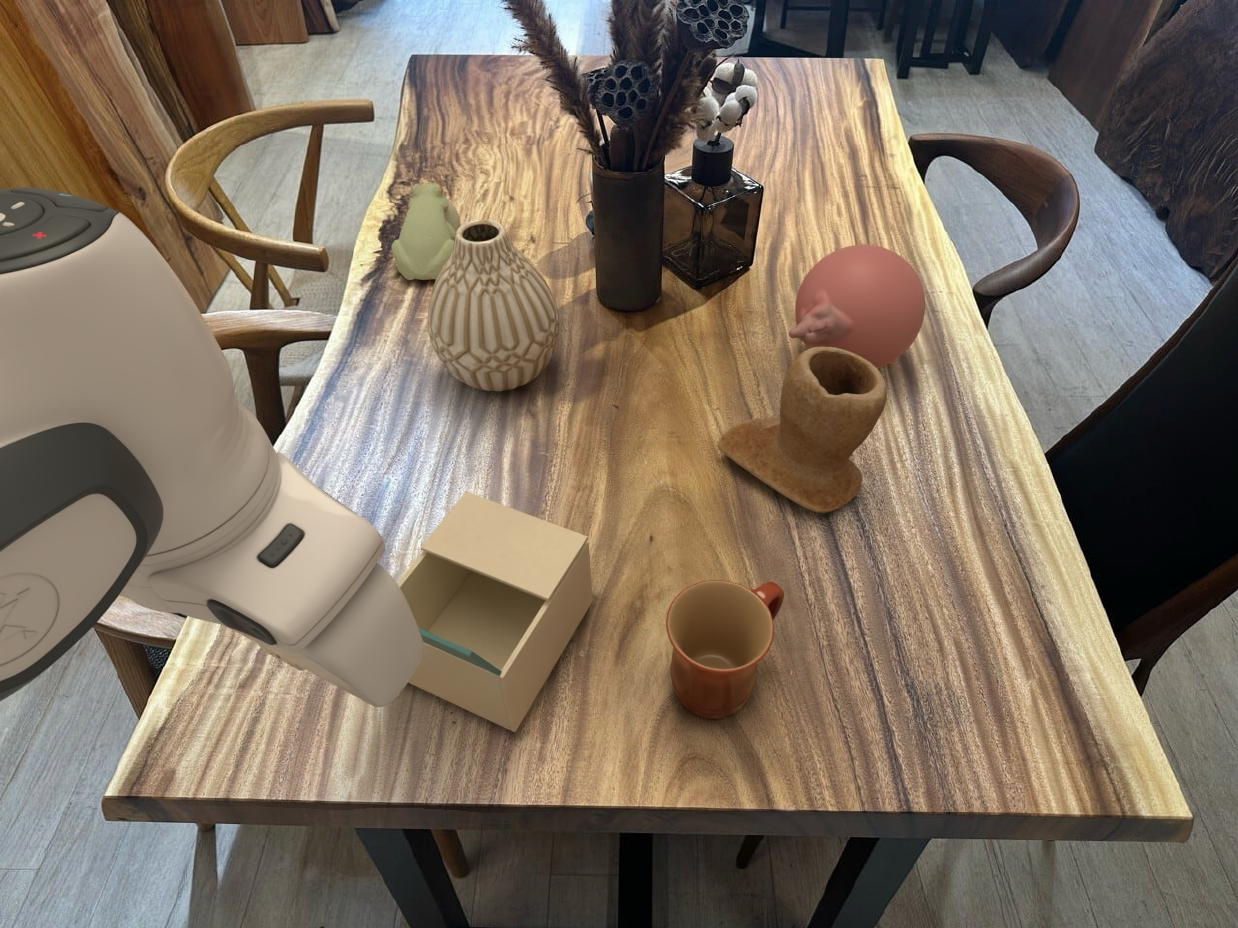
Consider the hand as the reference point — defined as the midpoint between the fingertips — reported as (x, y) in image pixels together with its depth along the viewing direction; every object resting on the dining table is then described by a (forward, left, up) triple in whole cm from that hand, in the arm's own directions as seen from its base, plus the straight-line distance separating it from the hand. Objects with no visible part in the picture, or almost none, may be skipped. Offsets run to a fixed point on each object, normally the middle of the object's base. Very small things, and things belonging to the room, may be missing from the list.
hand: (293, 651), depth 48 cm
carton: (+13, +12, -24) cm, 30 cm away
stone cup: (+51, +20, -24) cm, 60 cm away
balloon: (+65, +34, -24) cm, 77 cm away
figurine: (+24, +80, -24) cm, 87 cm away
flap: (+7, +6, -10) cm, 14 cm away
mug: (+31, 0, -24) cm, 39 cm away
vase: (+25, +50, -24) cm, 61 cm away
